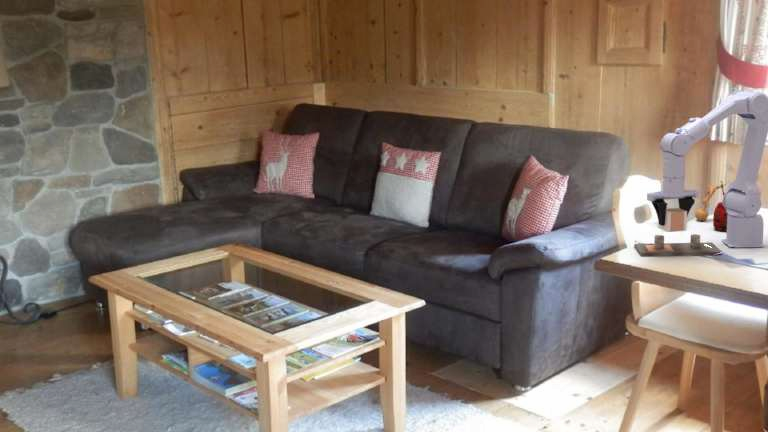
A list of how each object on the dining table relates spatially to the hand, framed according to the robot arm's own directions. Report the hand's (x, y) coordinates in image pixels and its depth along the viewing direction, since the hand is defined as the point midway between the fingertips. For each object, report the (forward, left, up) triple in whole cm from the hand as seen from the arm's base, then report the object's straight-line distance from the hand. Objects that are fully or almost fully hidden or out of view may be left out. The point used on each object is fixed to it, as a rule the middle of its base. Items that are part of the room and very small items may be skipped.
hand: (672, 224), depth 240 cm
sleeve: (0, 0, -1) cm, 1 cm away
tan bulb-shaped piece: (-19, -38, -9) cm, 44 cm away
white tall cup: (-7, -32, -9) cm, 34 cm away
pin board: (-2, -2, -9) cm, 9 cm away
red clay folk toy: (-22, -26, -9) cm, 35 cm away
